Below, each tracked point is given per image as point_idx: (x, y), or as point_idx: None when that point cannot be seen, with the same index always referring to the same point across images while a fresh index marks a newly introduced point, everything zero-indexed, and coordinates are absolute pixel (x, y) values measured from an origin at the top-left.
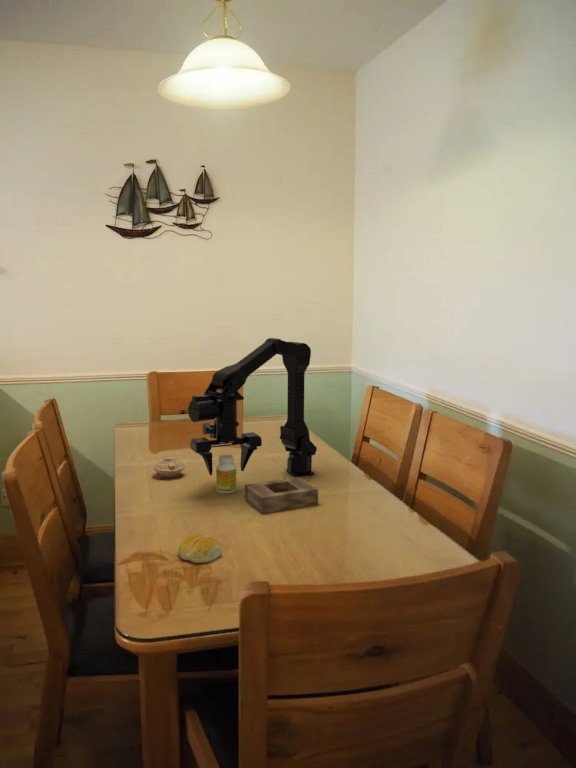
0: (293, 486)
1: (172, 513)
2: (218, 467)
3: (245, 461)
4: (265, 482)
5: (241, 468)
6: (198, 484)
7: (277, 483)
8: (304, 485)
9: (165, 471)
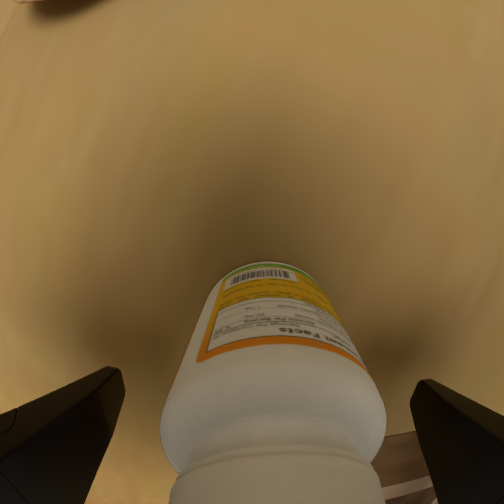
0: (430, 500)
1: (21, 401)
2: (169, 458)
3: (439, 488)
4: (393, 487)
5: (422, 403)
6: (148, 118)
7: (420, 488)
8: None
9: (21, 3)
